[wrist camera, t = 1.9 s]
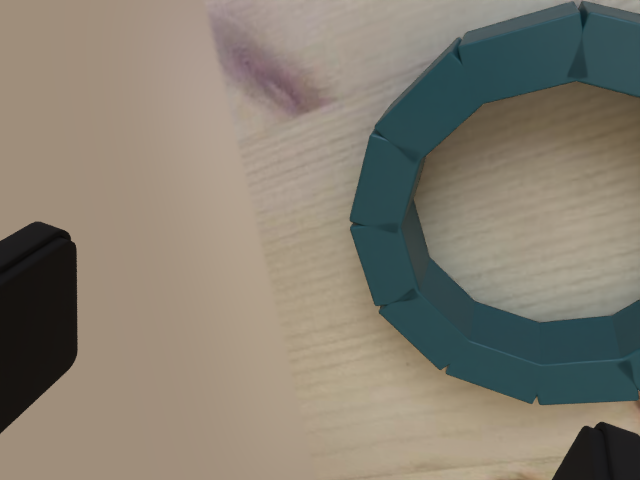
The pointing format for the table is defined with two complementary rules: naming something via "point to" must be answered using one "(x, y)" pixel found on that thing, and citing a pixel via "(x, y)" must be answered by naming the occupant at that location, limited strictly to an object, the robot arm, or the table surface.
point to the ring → (406, 233)
